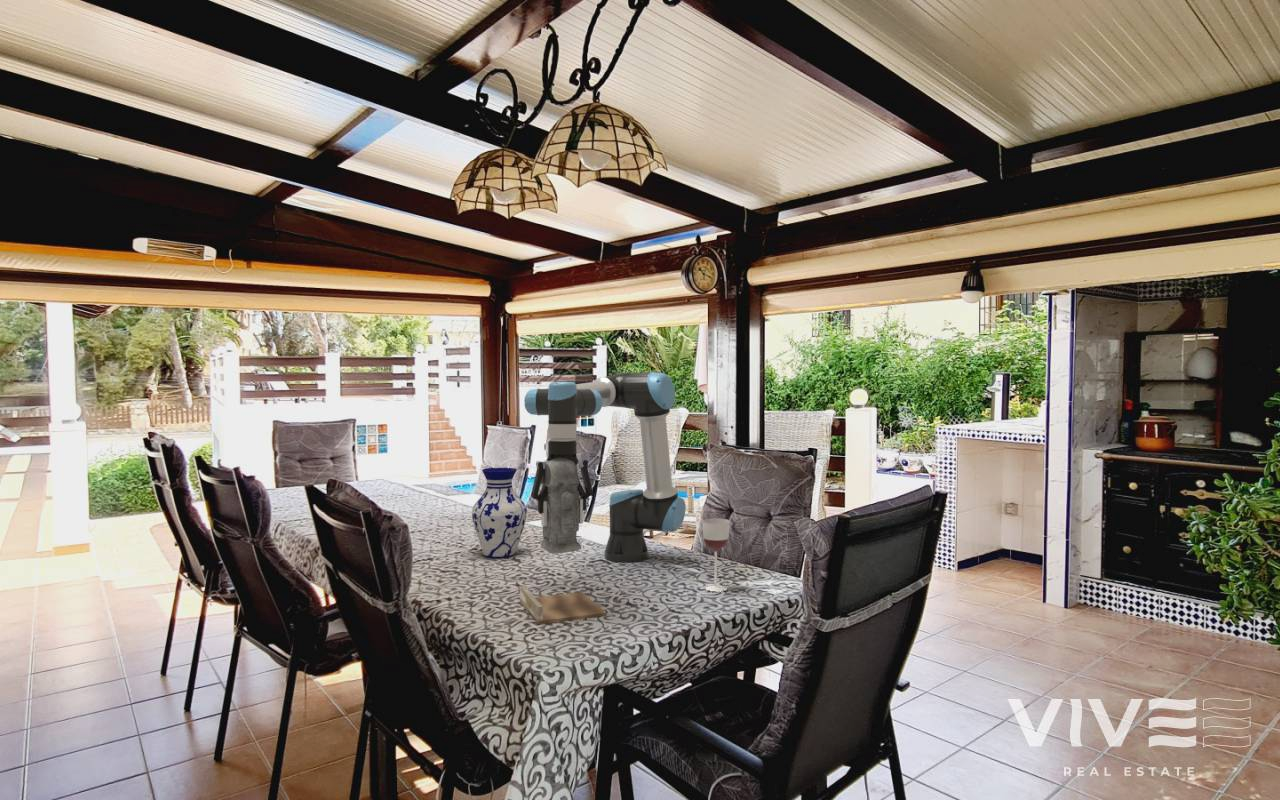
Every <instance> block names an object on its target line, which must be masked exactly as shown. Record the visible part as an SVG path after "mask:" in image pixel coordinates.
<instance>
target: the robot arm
mask: <svg viewBox="0 0 1280 800" xmlns="http://www.w3.org/2000/svg"><path fill="white" fill-rule="evenodd" d="M675 399H676V389H675V385H674V382H673V380H672V379H671V377H670V376H668V374H666V373H664V372H663V373H662V372H656V371H649V372H648V371H647V372H643V371H642V372H622V373H615V374H611V375H607V376H603V377H598V378H596V379H595V380H594V381H591V382H583V383H578V384H576V382H574V381H552V382H550V383H548V388H532V389H530V390H528V391H527V392H526V394H525V396H524V409H525V410H526V411H527V414H530V415H533V416H534V415H536V416H548V421H547V422H548V426H547V427H548V428H547V430H548V431H547V433H548V434H547V435H548V436H547V438H548V439H549V441H548V442H547V459H546V460H543V461H542V460H541V461H539V460H537V461H536V462H535V464H536V466H535V468H536V470H535V471H536V472H535V476H534V481H533V484H532V489H531V491H530V492H531V494H530V497H531V498H532V499H533V500H536V501H537V512H538V513H539V514H541V517H540V518H541V520H540V521H541V523H540V525H541V526H542V527H543V526H547V501H545V500H544V499H545V497H546V495H547V493H548V488H547V486H545V485H543V484H541V480H542V476H543V469H545V464H546V462H547V460H548V461H551V460H553V459H556V458H567V459H569V460H572V461H573V462H574V463H575V465H576V466H577V465H578V467H579V468H580V473H581V476H582V480H583V484H584V485H583V486H584V487H583V486H582V484H581V482H580V483H579V485H578V487H577V489H578V491H579V504H580V511H579V525H581V524H584V521H583V520H584V512H585V511H586V510H587V499H588V498H589V497H592V496H594V492H593V487H592V484H591V478H590V473H589V470H588V467H589V461H588V459H587V460H586V459H584V458H583V459H578V457H577V454H578V452H577V446H578V445H577V441H576V439H577V432H578V431H577V417H591V416H595V415H597V414H598V413H600V411H601V410H602V408H607V407H614V408H615V407H616V408H626V409H633V412H634V417H636V418H637V419H638V420H639V424H640V425H639V428H640V435H641V437H640V438H641V443H642V444H641V445H642V446H641V447H642V454H643V463H644V466H643V467H644V473H645V483H646V488H645V489H644V490H643V489H638V488H637V489H626V490H619V491H615V492H613V493H612V494H610V497H609V506H608V507H609V537H608V539H607V543H606V546H605V549H604V558H605V559H606V560H608V561H611V562H619V563H620V562H621V563H635V562H641V561H645V560H646V559H648V558H649V549H648V545H647V542H646V539H645V536H644V530H649V531H657V532H663V533H666V532H667V533H668V532H669V533H673V532H677V531H678V530H679V529H680V528H681V526H682V525H683V523H684V519H685V516H686V507H687V506H686V502H685V501H686V500H685V499H684V498H682V497H681V496H678V495H679V494H678V490H677V488H676V487H674V486H673V479H672V470H671V469H672V468H671V467H672V466H671V461H670V460H671V459H670V448H669V446H670V445H669V438H668V427H667V416H668V415H669V414H670V413H671V411H670V409H671V408H673V407H674V405H675V402H676V401H675ZM541 485H542V487H541ZM540 487H541V489H540Z"/></svg>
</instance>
